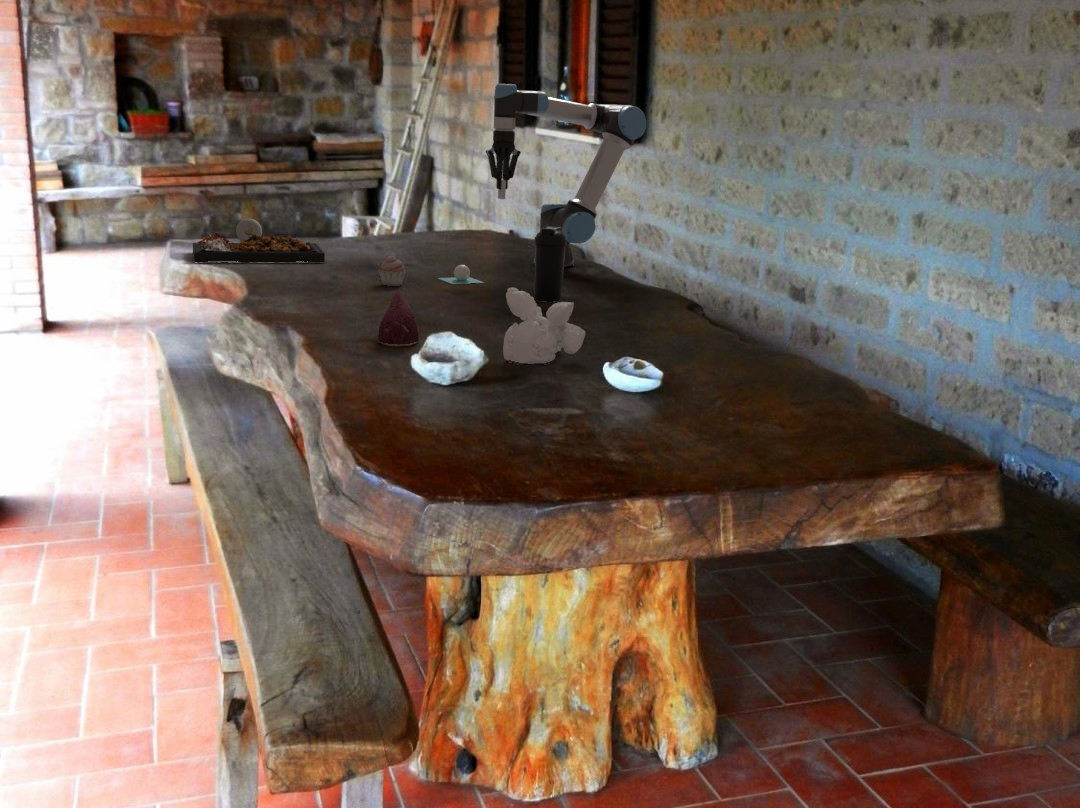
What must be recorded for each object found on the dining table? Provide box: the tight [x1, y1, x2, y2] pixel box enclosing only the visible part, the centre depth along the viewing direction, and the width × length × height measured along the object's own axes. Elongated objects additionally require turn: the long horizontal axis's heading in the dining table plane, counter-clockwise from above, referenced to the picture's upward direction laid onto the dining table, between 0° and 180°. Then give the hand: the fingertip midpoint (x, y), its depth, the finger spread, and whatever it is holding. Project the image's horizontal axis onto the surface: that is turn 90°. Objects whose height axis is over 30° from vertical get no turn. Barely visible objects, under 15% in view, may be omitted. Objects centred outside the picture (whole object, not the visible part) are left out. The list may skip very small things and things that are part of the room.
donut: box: [235, 218, 263, 242], centre depth 449 cm, size 10×4×10 cm, turn 104°
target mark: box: [436, 276, 485, 286], centre depth 390 cm, size 12×12×1 cm
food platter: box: [192, 227, 326, 263], centre depth 416 cm, size 45×25×10 cm, turn 107°
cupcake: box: [378, 254, 407, 287], centre depth 375 cm, size 9×9×10 cm
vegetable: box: [377, 289, 420, 345], centre depth 293 cm, size 10×10×15 cm
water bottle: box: [533, 227, 567, 302], centre depth 360 cm, size 10×10×23 cm
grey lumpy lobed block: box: [502, 286, 586, 364], centre depth 283 cm, size 19×20×20 cm
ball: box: [453, 264, 471, 281], centre depth 390 cm, size 6×6×6 cm
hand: (501, 198), depth 404 cm, fingers closed
